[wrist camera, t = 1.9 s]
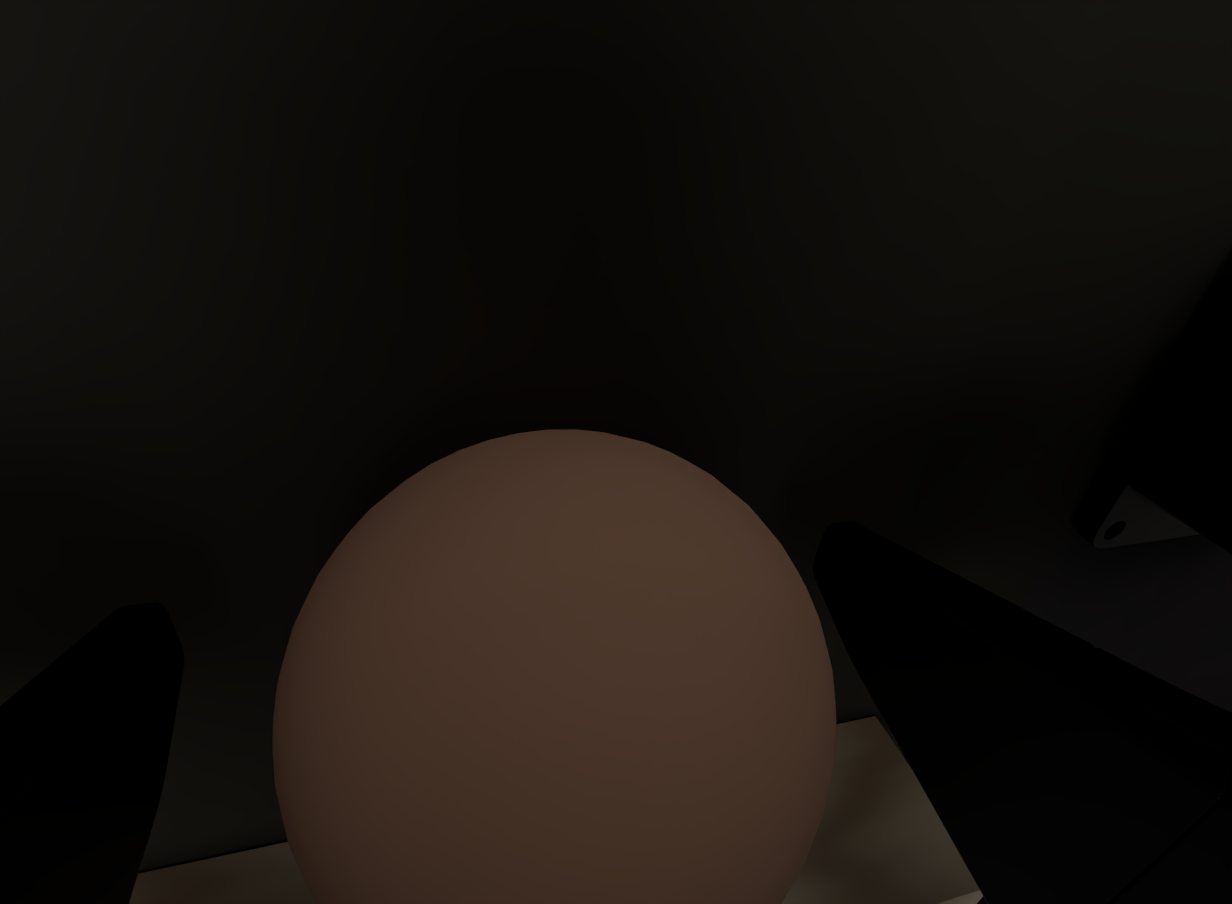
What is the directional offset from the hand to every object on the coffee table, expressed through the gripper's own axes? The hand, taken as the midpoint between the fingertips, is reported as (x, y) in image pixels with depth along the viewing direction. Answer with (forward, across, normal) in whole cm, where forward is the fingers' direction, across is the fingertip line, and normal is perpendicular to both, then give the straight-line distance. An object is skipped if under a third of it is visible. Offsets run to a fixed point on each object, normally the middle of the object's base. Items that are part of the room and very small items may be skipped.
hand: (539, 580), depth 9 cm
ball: (+1, 0, 0) cm, 1 cm away
